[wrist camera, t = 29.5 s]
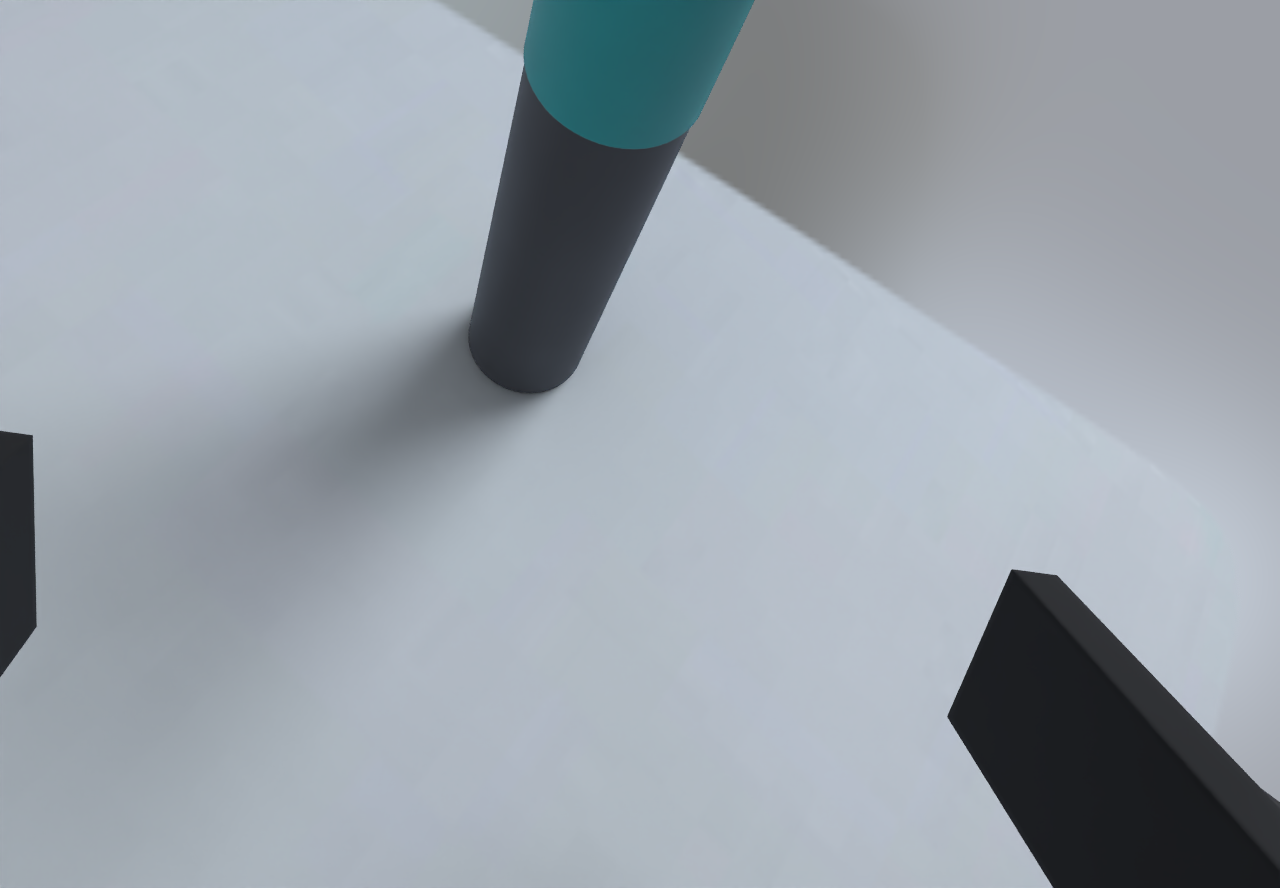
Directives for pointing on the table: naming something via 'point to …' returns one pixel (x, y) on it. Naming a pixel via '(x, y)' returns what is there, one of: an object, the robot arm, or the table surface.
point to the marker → (587, 169)
